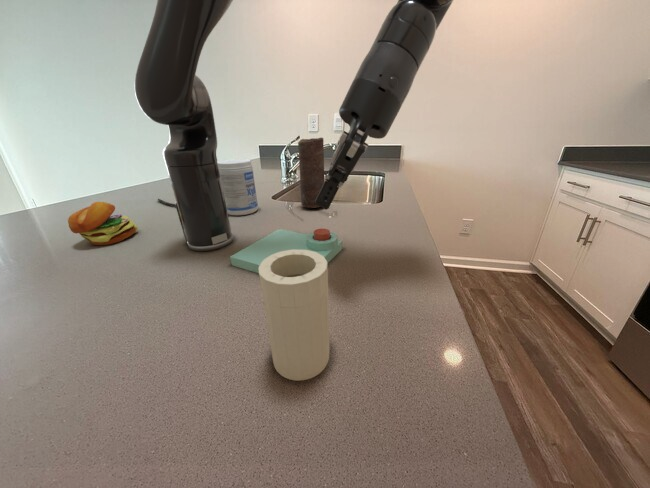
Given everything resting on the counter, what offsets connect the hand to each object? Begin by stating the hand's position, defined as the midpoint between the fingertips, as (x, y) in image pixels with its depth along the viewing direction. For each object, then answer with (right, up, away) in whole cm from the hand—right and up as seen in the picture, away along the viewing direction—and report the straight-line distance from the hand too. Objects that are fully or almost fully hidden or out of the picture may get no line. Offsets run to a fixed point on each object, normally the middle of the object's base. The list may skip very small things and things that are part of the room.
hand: (320, 206), depth 39 cm
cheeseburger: (-50, -5, +23) cm, 56 cm away
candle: (-3, +6, +41) cm, 42 cm away
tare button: (0, -5, +12) cm, 13 cm away
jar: (-2, -18, -9) cm, 21 cm away
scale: (-6, -8, +12) cm, 16 cm away
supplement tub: (-24, +4, +40) cm, 47 cm away
